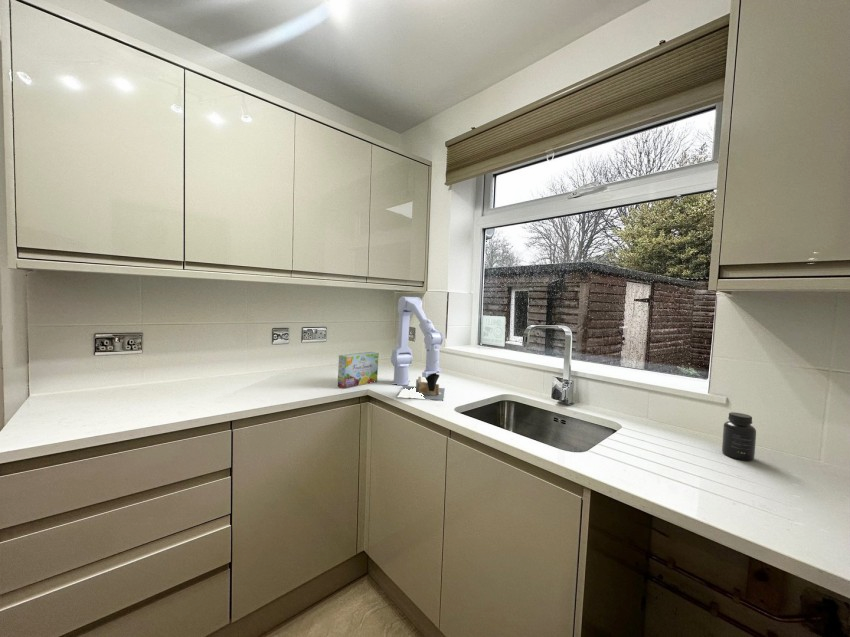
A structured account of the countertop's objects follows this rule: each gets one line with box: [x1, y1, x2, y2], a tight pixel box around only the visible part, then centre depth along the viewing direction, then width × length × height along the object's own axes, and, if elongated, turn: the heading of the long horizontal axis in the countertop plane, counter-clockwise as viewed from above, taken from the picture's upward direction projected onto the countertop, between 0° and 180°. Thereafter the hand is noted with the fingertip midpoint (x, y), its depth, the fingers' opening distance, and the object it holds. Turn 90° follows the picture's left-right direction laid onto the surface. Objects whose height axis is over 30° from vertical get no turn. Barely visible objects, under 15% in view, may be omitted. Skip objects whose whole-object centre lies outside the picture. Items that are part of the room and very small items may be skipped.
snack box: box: [337, 351, 379, 389], centre depth 164 cm, size 21×6×15 cm, turn 143°
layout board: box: [402, 376, 445, 402], centre depth 152 cm, size 20×20×6 cm
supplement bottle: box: [721, 411, 757, 462], centre depth 96 cm, size 7×7×12 cm
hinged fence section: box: [419, 380, 440, 395], centre depth 149 cm, size 10×1×4 cm, turn 61°
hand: (431, 390), depth 147 cm, fingers closed
